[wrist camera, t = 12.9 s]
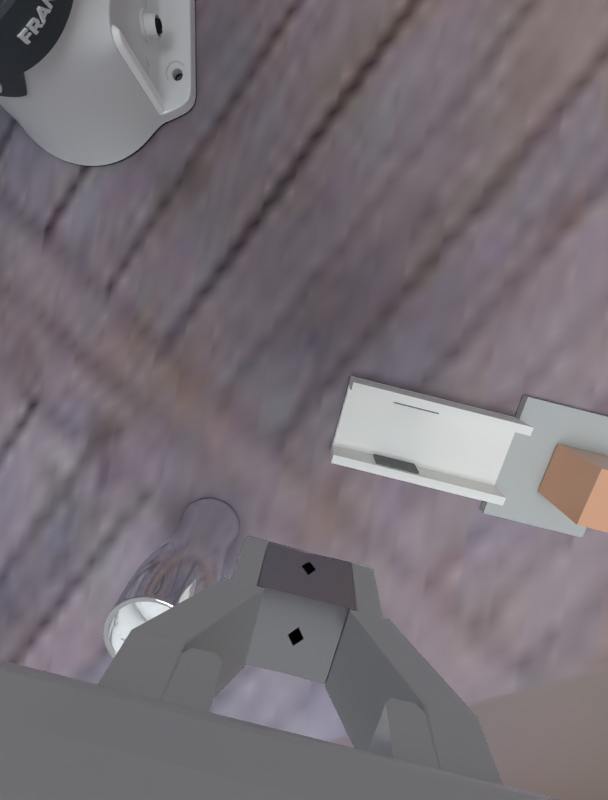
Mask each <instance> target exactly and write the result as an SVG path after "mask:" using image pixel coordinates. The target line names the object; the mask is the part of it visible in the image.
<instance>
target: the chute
mask: <svg viewBox="0 0 608 800" xmlns="http://www.w3.org/2000/svg"><path fill="white" fill-rule="evenodd" d="M533 429H534V427H532V426H530V425H528V424H527V423H525V422H523V421H521V420H519V419H518V418H516V417H513V416H509V415H505V414H501V413H497V412H493V411H489V410H485V409H481V408H477V407H473V406H469V405H465V404H461V403H457V402H453V401H450V400H446V399H442V398H438V397H434V396H430V395H426V394H422V393H418V392H414V391H410V390H406V389H402V388H398V387H394V386H390V385H386V384H382V383H378V382H374V381H370V380H366V379H362V378H358V377H354V376H351V377H350V381H349V384H348V388H347V392H346V395H345V399H344V402H343V406H342V410H341V413H340V417H339V421H338V424H337V428H336V431H335V435H334V439H333V442H332V446H331V449H330V450H331V463H334V464H338V465H342V466H346V467H350V468H354V469H358V470H362V471H366V472H370V473H374V474H378V475H382V476H386V477H390V478H394V479H398V480H402V481H406V482H410V483H414V484H418V485H422V486H426V487H430V488H434V489H438V490H442V491H446V492H450V493H454V494H458V495H462V496H466V497H470V498H474V499H478V500H482V501H486V502H490V503H494V504H498V505H502V506H503V504H504V502H505V499H506V497H505V496H504V495H503V494H502V493H501V492H500V491H499V490H498V489H497V488H496V487H495V483H496V480H497V478H498V475H499V473H500V470H501V468H502V465H503V462H504V460H505V457H506V455H507V452H508V449H509V447H510V444H511V442H512V439H513V436H514V434H515V432H516V433H520V434H524V435H528V436H531V434H532V431H533Z"/></svg>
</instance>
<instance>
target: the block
mask: <svg viewBox="0 0 608 800" xmlns="http://www.w3.org/2000/svg"><path fill="white" fill-rule="evenodd" d="M538 492H539V493H540V494H541V495H542V496H543V497H545V498H546V499H547V500H548V501H549V502H550V503H552V504H553V505H554V506H555V507H556V508H558V509H559V510H560V511H561V512H562V513H563V514H565V515H566V516H567V517H568V518H569V519H571V520H572V521H573V522H574V523H575V524H576V525H580V526H584V527H588V528H592V529H596V530H600V531H604V532H608V456H605V455H601V454H597V453H593V452H589V451H585V450H581V449H577V448H573V447H569V446H565V445H561V444H557V447H556V449H555V452H554V454H553V456H552V459H551V461H550V464H549V466H548V468H547V471H546V473H545V476H544V478H543V480H542V483H541V485H540V488H539V490H538Z"/></svg>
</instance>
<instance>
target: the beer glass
mask: <svg viewBox="0 0 608 800" xmlns="http://www.w3.org/2000/svg"><path fill="white" fill-rule="evenodd" d="M238 533H239V520H238V517H237V515H236V513H235V512H234V510H233V509H232V508H231V507H230V506H229V505H228V504H226V503H224V502H223V501H220V500H217V499H213V498H205V499H200V500H197V501H195V502H193V503H192V504H190V505H189V506H188V507H187V509H186V510H185V512H184V513H183V516H182V518H181V521H180V525H179V527H178V529H177V530H176V531H175V532H174V533H173V534H172V535H171V536H170V537H169V538H168V539H167V540H165V541H164V542H163V543H162V544H161V545H160V546H159V547H157V548H156V549H155V550H154V551H153V552H152V553H151V554H150V555H149V556H148V557H147V558H146V559H145V560H144V562H143V563H142V564H141V565H140V567H139V568H138V569H137V571H136V572H135V573H134V575H133V576H132V578H131V579H130V581H129V582H128V584H127V585H126V587H125V588H124V590H123V592H122V593H121V595H120V597H119V599H118V600H117V602H116V604H115V606H114V607H113V609H112V611H111V612H110V613H109V615H108V616H107V618H106V621H105V624H104V629H103V637H104V642H105V645H106V648H107V650H108V652H109V654H110V655H111V656H112V658H113V659H114V657H115V656H116V654H117V652H118V651H119V649H120V648H121V646H122V644H123V643H124V641H125V639H126V638H127V636H128V635H129V633H130V631H131V630H132V629H134V628H136V627H138V626H139V625H141V624H143V623H145V622H147V621H148V620H150V619H152V618H154V617H156V616H157V615H159V614H161V613H163V612H165V611H166V610H168V609H170V608H172V607H173V606H175V605H177V604H179V603H181V602H182V601H184V600H186V599H188V598H190V597H191V596H193V595H195V594H197V593H199V592H200V591H202V590H204V589H206V588H208V587H209V586H211V585H213V584H215V583H217V582H218V581H220V580H222V579H223V571H224V562H225V556H226V553H227V551H228V550H229V548H230V547H231V546H232V544H233V543H234V542H235V540H236V538H237V536H238Z"/></svg>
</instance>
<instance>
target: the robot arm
mask: <svg viewBox="0 0 608 800" xmlns="http://www.w3.org/2000/svg"><path fill="white" fill-rule="evenodd" d="M178 74H183V76H182V79H181V80H179V81H176V80H175V78H176V76H177V75H178ZM195 99H196V63H195V0H0V105H1V106H2V107H3V108H4V109H5V110H6V111H7V112H9V113H10V114H11V115H12V117H13V118H14V119H15V120H16V121H17V122H18V123H19V124H20V125H21V126H22V128H23V129H24V130H25V131H26V133H27V134H28V135H29V136H30V137H31V138H32V139H33V140H34V141H35V142H36V143H37V144H38V145H39V146H41V147H42V148H43V149H44V150H46V151H47V152H49V153H50V154H52V155H54V156H56V157H58V158H60V159H62V160H64V161H67V162H70V163H74V164H78V165H85V166H100V165H107V164H111V163H114V162H117V161H120V160H122V159H124V158H126V157H128V156H129V155H131V154H133V153H134V152H135V151H137V150H138V149H139V148H140V147H141V146H143V145H144V144H145V143H146V141H147V140H148V139H149V138H150V137H151V136H152V135H153V133H154V132H155V131H156V130H157V129H158V128H159V127H160V126H161V125H162V124H164V123H165V122H168V121H170V120H173V119H175V118H177V117H179V116H181V115H183V114H185V113H186V112H188V111H189V110H190V109H191V108H192V107H193V105H194V103H195ZM267 543H268V545H267ZM266 548H267V549H266ZM245 665H250V666H254V667H259V668H264V669H268V670H273V671H278V672H282V673H286V674H290V675H293V676H297V677H300V678H304V679H307V680H311V681H315V682H318V683H322V684H325V688H326V690H327V692H328V694H329V696H330V698H331V700H332V702H333V704H334V707H335V709H336V711H337V713H338V715H339V717H340V719H341V721H342V723H343V725H344V727H345V730H346V732H347V734H348V736H349V738H350V740H351V742H352V744H353V746H354V748H352V747H348V746H344V745H339V744H335V743H331V742H327V741H323V740H319V739H315V738H311V737H307V736H303V735H299V734H295V733H291V732H287V731H283V730H279V729H275V728H271V727H267V726H263V725H259V724H255V723H250V722H246V721H242V720H238V719H234V718H230V717H226V716H222V715H218V714H214V713H210V711H211V707H212V703H213V699H214V698H215V697H216V696H217V695H218V694H219V692H220V691H221V690H222V689H223V688H224V687H225V686H226V685H227V684H228V683H229V682H230V681H231V680H232V679H233V678H234V677H235V676H236V675H237V674H238V673H239V672H240V671H241V670H242V669H243V668H244V666H245ZM0 800H560V799H556V798H552V797H548V796H543V795H539V794H535V793H532V792H528V791H524V790H520V789H516V788H512V787H508V786H504V785H503V783H502V780H501V778H500V775H499V772H498V770H497V767H496V765H495V762H494V759H493V757H492V754H491V752H490V749H489V746H488V743H487V741H486V738H485V735H484V733H483V730H482V727H481V725H480V722H479V720H478V717H477V716H476V715H475V714H474V713H473V712H472V710H471V709H470V708H469V707H468V706H467V705H466V704H465V703H464V702H463V701H462V699H461V698H460V697H459V696H458V695H457V694H456V693H455V692H454V691H453V689H452V688H451V687H450V686H449V685H448V684H447V683H446V682H445V681H444V679H443V678H442V677H441V676H440V675H439V674H438V673H437V672H436V671H435V669H434V668H433V667H432V666H431V665H430V664H429V663H428V662H427V661H426V659H425V658H424V657H423V656H422V655H421V654H420V653H419V652H418V651H417V650H416V648H415V647H414V646H413V645H412V644H411V643H410V642H409V641H408V640H407V638H406V637H405V636H404V635H403V634H402V633H401V632H400V631H399V630H398V628H397V627H396V626H395V625H394V624H393V623H392V622H391V621H390V620H389V619H386V618H383V616H382V611H381V606H380V601H379V596H378V591H377V586H376V581H375V576H374V571H373V568H372V567H371V566H367V565H363V564H358V563H353V562H348V561H343V560H339V559H334V558H330V557H325V556H321V555H316V554H312V553H309V552H307V551H303V550H300V549H296V548H292V547H289V546H285V545H281V544H278V543H274V542H270V541H268V542H267V540H263V539H259V538H255V537H251V536H247V537H246V538H245V541H244V543H243V546H242V549H241V552H240V555H239V558H238V561H237V563H236V566H235V569H234V572H233V575H232V578H231V579H227V578H224V579H222V580H220V581H218V582H217V583H215V584H213V585H211V586H209V587H208V588H206V589H204V590H202V591H200V592H199V593H197V594H195V595H193V596H191V597H190V598H188V599H186V600H184V601H182V602H181V603H179V604H177V605H175V606H173V607H172V608H170V609H168V610H166V611H165V612H163V613H161V614H159V615H157V616H156V617H154V618H152V619H150V620H148V621H147V622H145V623H143V624H141V625H139V626H138V627H136V628H134V629H132V630H131V631H130V633H129V635H128V636H127V638H126V639H125V641H124V643H123V644H122V646H121V648H120V649H119V651H118V652H117V654H116V656H115V657H114V659H113V661H112V662H111V664H110V665H109V667H108V669H107V670H106V672H105V674H104V675H103V677H102V678H101V680H100V682H99V683H98V684H94V683H90V682H86V681H82V680H78V679H74V678H70V677H66V676H62V675H58V674H54V673H50V672H46V671H42V670H38V669H34V668H29V667H25V666H21V665H17V664H13V663H9V662H5V661H1V660H0Z"/></svg>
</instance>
